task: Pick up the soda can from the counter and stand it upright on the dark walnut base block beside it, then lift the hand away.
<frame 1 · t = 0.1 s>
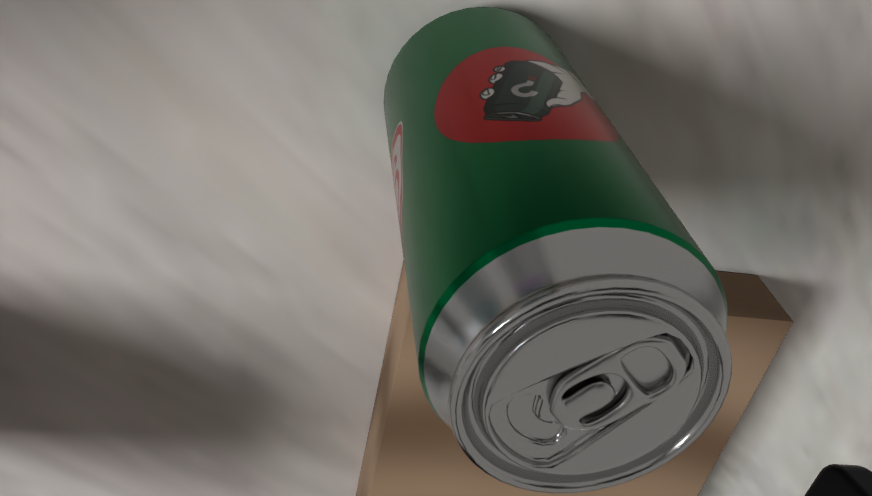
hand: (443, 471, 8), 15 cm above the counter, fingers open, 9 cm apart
walnut base: (542, 393, 28), on the counter
soda can: (472, 89, 22), on the counter
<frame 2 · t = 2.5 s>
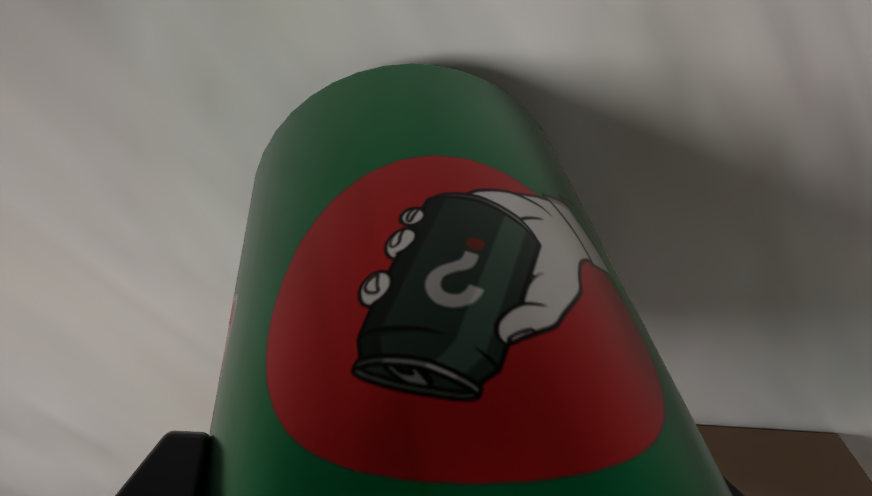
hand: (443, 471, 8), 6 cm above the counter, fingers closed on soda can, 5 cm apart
soda can: (405, 187, 14), on the counter, touching gripper
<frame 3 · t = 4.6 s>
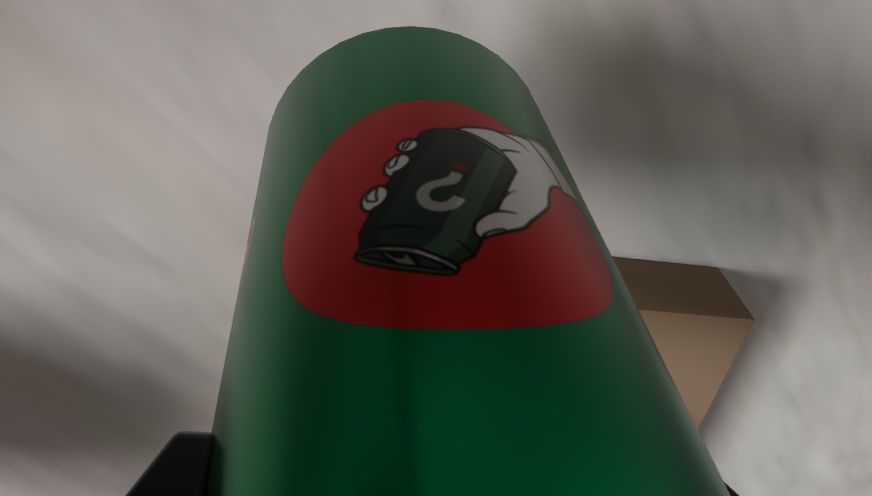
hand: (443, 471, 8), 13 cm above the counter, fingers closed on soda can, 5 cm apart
walnut base: (483, 399, 26), on the counter
soda can: (404, 143, 15), point 5 cm above the counter, touching gripper
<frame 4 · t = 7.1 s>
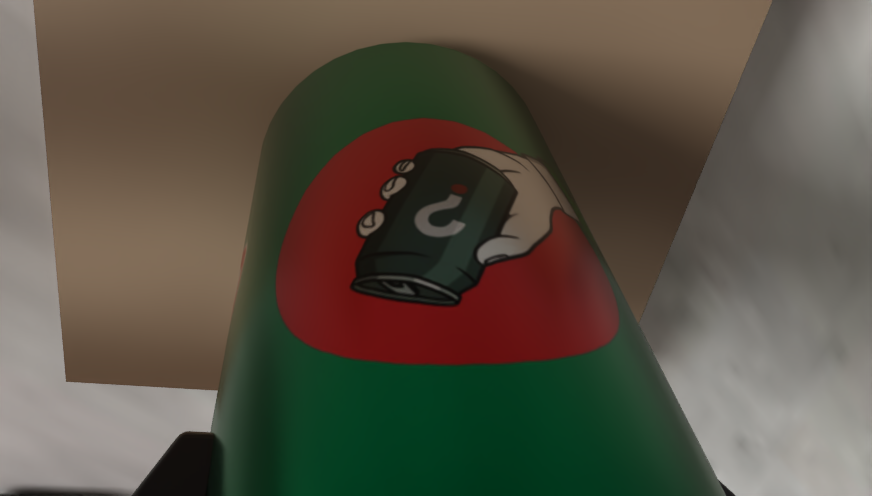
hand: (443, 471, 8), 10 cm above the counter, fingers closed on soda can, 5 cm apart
walnut base: (385, 106, 16), on the counter
soda can: (400, 160, 15), point 2 cm above the counter, touching gripper, walnut base
when the fingers open (10 cm above the counter, at t = 8.0 s): soda can stays where it is, resting on walnut base.
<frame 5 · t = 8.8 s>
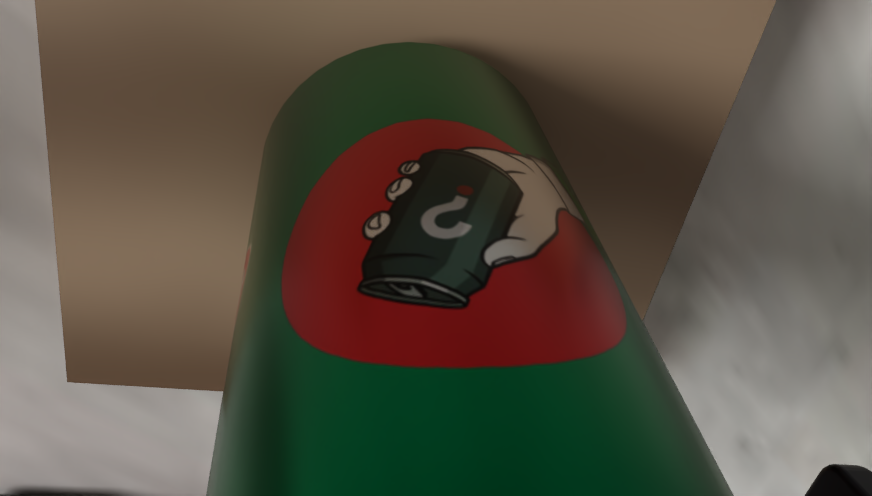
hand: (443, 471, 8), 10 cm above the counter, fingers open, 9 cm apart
walnut base: (388, 106, 16), on the counter
soda can: (402, 160, 15), point 2 cm above the counter, touching walnut base
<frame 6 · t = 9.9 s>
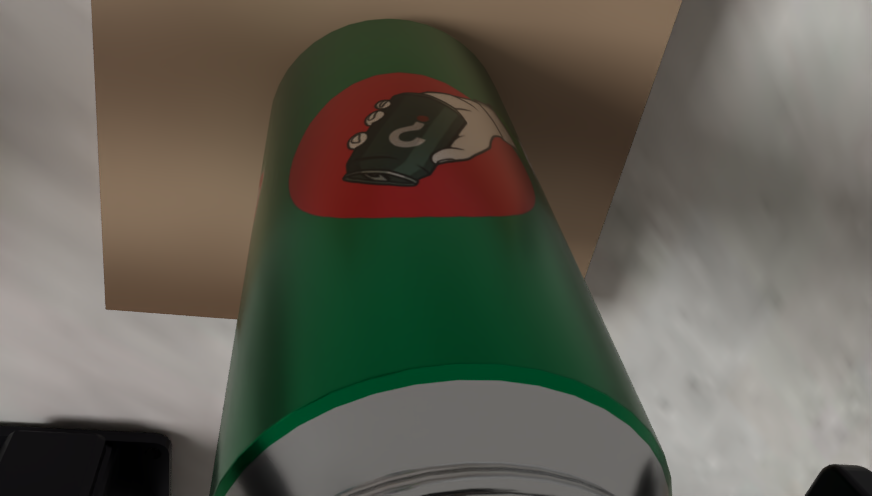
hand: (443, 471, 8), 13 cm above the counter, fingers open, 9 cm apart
walnut base: (374, 77, 20), on the counter
soda can: (385, 118, 18), point 2 cm above the counter, touching walnut base
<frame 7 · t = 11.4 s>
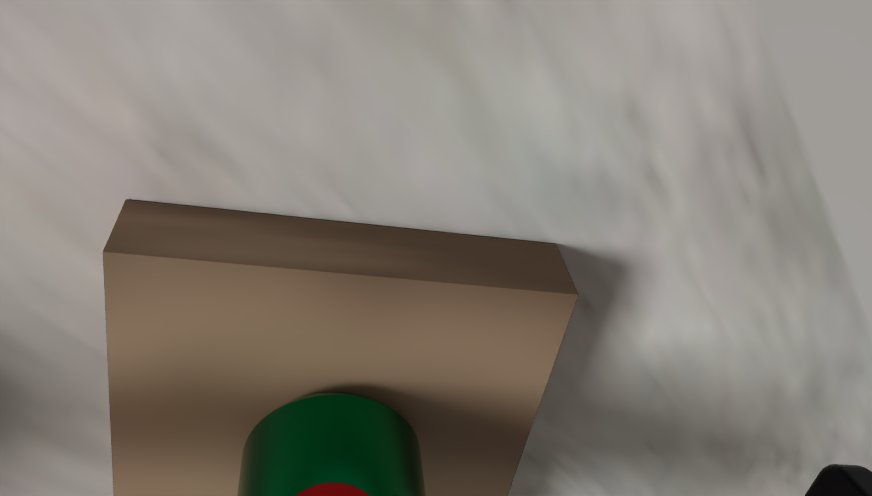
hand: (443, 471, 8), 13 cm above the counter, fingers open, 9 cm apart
walnut base: (327, 382, 25), on the counter
soda can: (332, 437, 23), point 2 cm above the counter, touching walnut base
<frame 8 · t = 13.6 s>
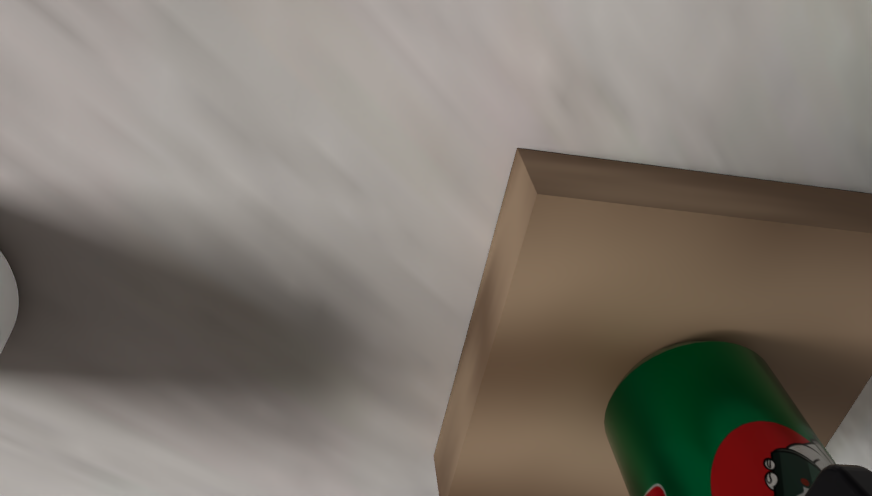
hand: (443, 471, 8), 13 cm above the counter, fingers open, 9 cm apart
walnut base: (649, 337, 25), on the counter
soda can: (678, 388, 23), point 2 cm above the counter, touching walnut base
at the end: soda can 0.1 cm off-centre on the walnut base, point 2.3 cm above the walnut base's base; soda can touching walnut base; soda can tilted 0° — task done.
